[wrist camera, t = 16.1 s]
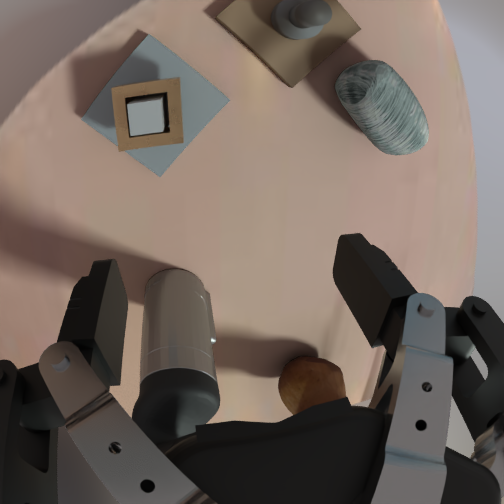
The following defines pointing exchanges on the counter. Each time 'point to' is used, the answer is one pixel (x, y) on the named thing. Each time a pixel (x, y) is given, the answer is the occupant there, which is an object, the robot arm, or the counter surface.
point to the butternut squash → (310, 383)
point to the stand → (289, 32)
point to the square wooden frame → (126, 91)
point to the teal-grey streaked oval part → (383, 107)
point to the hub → (156, 103)
